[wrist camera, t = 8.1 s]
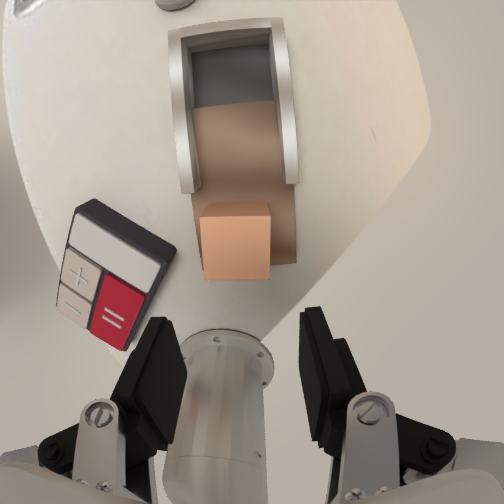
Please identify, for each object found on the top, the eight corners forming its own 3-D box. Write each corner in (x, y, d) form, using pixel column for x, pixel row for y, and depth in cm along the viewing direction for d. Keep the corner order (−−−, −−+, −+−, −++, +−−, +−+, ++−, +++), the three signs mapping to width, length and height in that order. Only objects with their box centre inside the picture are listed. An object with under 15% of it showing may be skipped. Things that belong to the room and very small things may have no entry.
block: (266, 254, 26) (269, 279, 21) (212, 254, 26) (204, 280, 21) (266, 201, 24) (270, 215, 19) (209, 202, 24) (199, 217, 19)
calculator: (52, 311, 26) (70, 207, 21) (68, 293, 30) (93, 196, 25) (123, 357, 29) (166, 266, 23) (135, 335, 33) (178, 247, 27)
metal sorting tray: (294, 256, 27) (301, 277, 23) (205, 264, 28) (197, 285, 23) (277, 36, 19) (282, 17, 15) (180, 47, 19) (168, 30, 15)
